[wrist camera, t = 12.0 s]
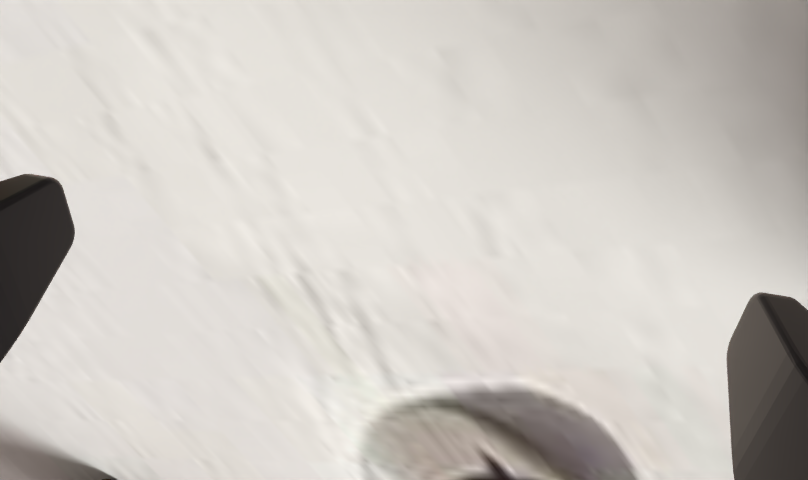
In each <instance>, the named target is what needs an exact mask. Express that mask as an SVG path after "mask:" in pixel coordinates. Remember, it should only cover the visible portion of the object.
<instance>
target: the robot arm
mask: <svg viewBox="0 0 808 480" xmlns="http://www.w3.org/2000/svg"><path fill="white" fill-rule="evenodd" d="M74 235H75V228H74V224H73V221H72V217H71V214H70V210H69V207H68V204H67V200H66V197H65V194H64V190H63V187H62V185H61V184H60V183H59V181H58V180H56V179H54V178H52V177H46V176H40V175H34V174H23V175H20V176H16V177H13V178H10V179H7V180H4V181H0V363H1V361H2V360H3V358H4V357H5V356H6V354H7V353H8V351H9V350H10V349H11V347H12V346H13V344H14V343H15V341H16V340H17V338H18V337H19V335H20V334H21V332H22V331H23V329H24V327H25V326H26V324H27V323H28V321H29V319H30V318H31V316H32V314H33V312H34V311H35V309H36V307H37V305H38V304H39V302H40V300H41V298H42V297H43V295H44V293H45V291H46V290H47V288H48V286H49V284H50V283H51V281H52V279H53V277H54V276H55V274H56V272H57V270H58V269H59V267H60V265H61V263H62V262H63V260H64V258H65V256H66V255H67V253H68V251H69V249H70V248H71V246H72V243H73V240H74ZM727 374H728V392H729V410H730V428H731V446H732V461H733V473H734V479H735V480H808V310H807V309H806V308H805V307H804V306H802V305H801V304H800V303H799V302H798V301H796V300H795V299H793V298H791V297H787V296H781V295H774V294H768V293H757V294H755V295H753V296H752V298H751V299H750V300H749V302H748V304H747V306H746V308H745V310H744V312H743V314H742V316H741V319H740V321H739V323H738V325H737V327H736V329H735V331H734V333H733V335H732V338H731V340H730V342H729V346H728V351H727Z"/></svg>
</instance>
